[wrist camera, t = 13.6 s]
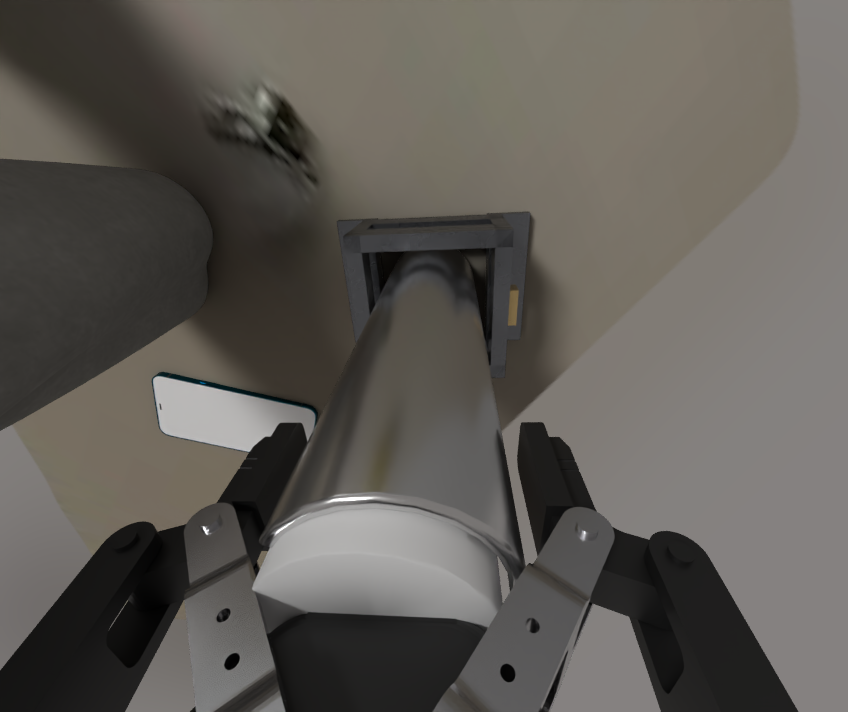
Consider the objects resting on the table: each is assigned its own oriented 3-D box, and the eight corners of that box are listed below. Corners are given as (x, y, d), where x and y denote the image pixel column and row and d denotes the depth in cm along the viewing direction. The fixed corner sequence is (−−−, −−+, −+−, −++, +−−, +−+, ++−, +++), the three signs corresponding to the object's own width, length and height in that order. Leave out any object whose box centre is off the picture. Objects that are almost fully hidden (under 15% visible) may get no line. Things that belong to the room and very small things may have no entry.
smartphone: (320, 403, 37) (156, 367, 36) (317, 409, 36) (150, 372, 35) (313, 459, 41) (165, 429, 40) (310, 466, 40) (160, 434, 39)
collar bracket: (357, 339, 33) (337, 379, 27) (338, 220, 28) (310, 237, 22) (518, 336, 32) (533, 377, 26) (528, 211, 27) (549, 227, 21)
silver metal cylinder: (433, 334, 32) (397, 728, 10) (375, 283, 30) (176, 631, 8) (490, 281, 29) (605, 654, 8) (431, 221, 28) (354, 489, 6)
